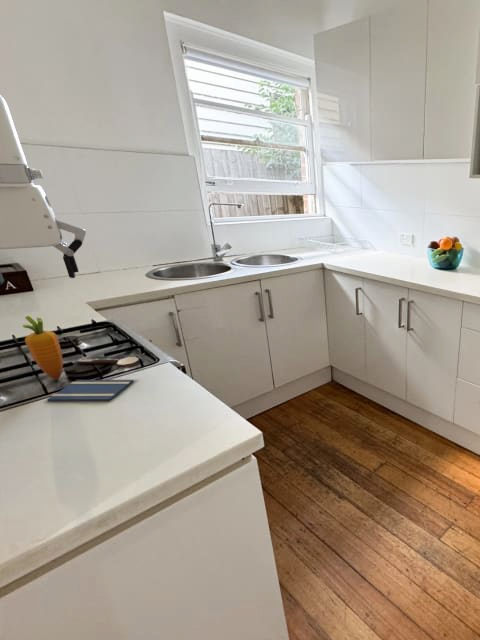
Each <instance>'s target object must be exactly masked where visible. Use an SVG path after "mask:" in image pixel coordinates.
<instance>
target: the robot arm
mask: <svg viewBox="0 0 480 640" xmlns="http://www.w3.org/2000/svg"><path fill="white" fill-rule="evenodd" d="M38 179H44V175H43V173H42V169H35V168H32V167H30V166H29V164H28V162H27V160H26V156H25V154H24V151H23V148H22V145H21V142H20V139H19V135H18V133H17V130H16V127H15V124H14V120H13V117H12V114H11V112H10V109H9V106H8V104H7V101H6V100H5V98H4V97H3V96H2V95H1V94H0V250H12V249H30V248H31V249H32V248H34V249H35V248H48V247H54V248H55V249H57V250H58V251H59V252H61V253H63V256H62V259H63V262H64V265H65V268H66V272H67V274H68V277H69V278H70V279H75V278H76V273H79V267H78V264H77V260H76V258H75V253H76V252H78V250H79V249H80V248H81V247H82V245H83V243H84V240H85V237H86V234H87V231H86V229H85V228H82V227H79V226H77V225H73V224H71V223H67V222H64V221H62V220H58V219H57V217H56V215H55V211H54V210H53V207H52V205H51V202H50V200H49V198H48V196H47V195H46V193H45V191H44V189H43V188H42V186H41V185H35V180H38ZM61 230H62V231H66V232H68V233H71V234H74V239H73V241H72V242H71V243H70V244H67V243H66V242H64V241H63V235H62V231H61ZM4 282H5V279H4V276H3V274H2V271H1V270H0V285H3V283H4Z"/></svg>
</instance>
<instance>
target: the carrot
mask: <svg viewBox="0 0 480 640" xmlns="http://www.w3.org/2000/svg"><path fill="white" fill-rule="evenodd" d="M24 318H25V320H27V321H28V322H29V323H30V324H23V325H22V327H23V328H24V329H29V330H31V331H33V332H31V333H29V334H28V335H26V336H25V338H24V343H25V345H26V347H27V349H28V351H29V353H30V356H31V358H32V359H33V361H34V362H35V363H36V365H37V366H38V367H39V368H40V370H41V371H42V372H43V373H44V374H46V375H47V376H48V377H50V378H51V379H53V380H55V381H58V380H59V379H60V378H61V375H62V372H63V368H64V367H63V366H64V361H63V360H64V358H63V352H62V348H61V345H60V342H59V338H58V335H57V334H56V333H55V332H53V331H51V330H44V323H43V320H42V318H41V317H36V321H37V322H36V321H35V320H34V318H32V317H31V315H26V316H25V317H24Z"/></svg>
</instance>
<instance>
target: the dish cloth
mask: <svg viewBox="0 0 480 640" xmlns="http://www.w3.org/2000/svg"><path fill="white" fill-rule="evenodd" d="M133 383H134V380H133V379H75V381H72V382H71V383H69V384H68V385H67V386H65V387H64V388H62V389H61V390H59V391H57V392H56V393H53V394H52V395H51V396H50V397H48V398H47V399H46V400H47V402H110V401H112V400H113V399H114V398H115V397H117V396H118V395H119V394H120V393H121V392H123V391H124V390H126V388H128V387H129V386H130V385H131V384H133Z"/></svg>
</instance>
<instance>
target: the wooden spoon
mask: <svg viewBox="0 0 480 640" xmlns="http://www.w3.org/2000/svg"><path fill="white" fill-rule="evenodd" d="M77 363H78V364H80V365H117V367H119V368H121V369H122V368H130V367H135V366H136V365H138V364H140V359H139V357H138V356H128V357H124V358H121V359H118V358H79V359H78V360H77Z"/></svg>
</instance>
